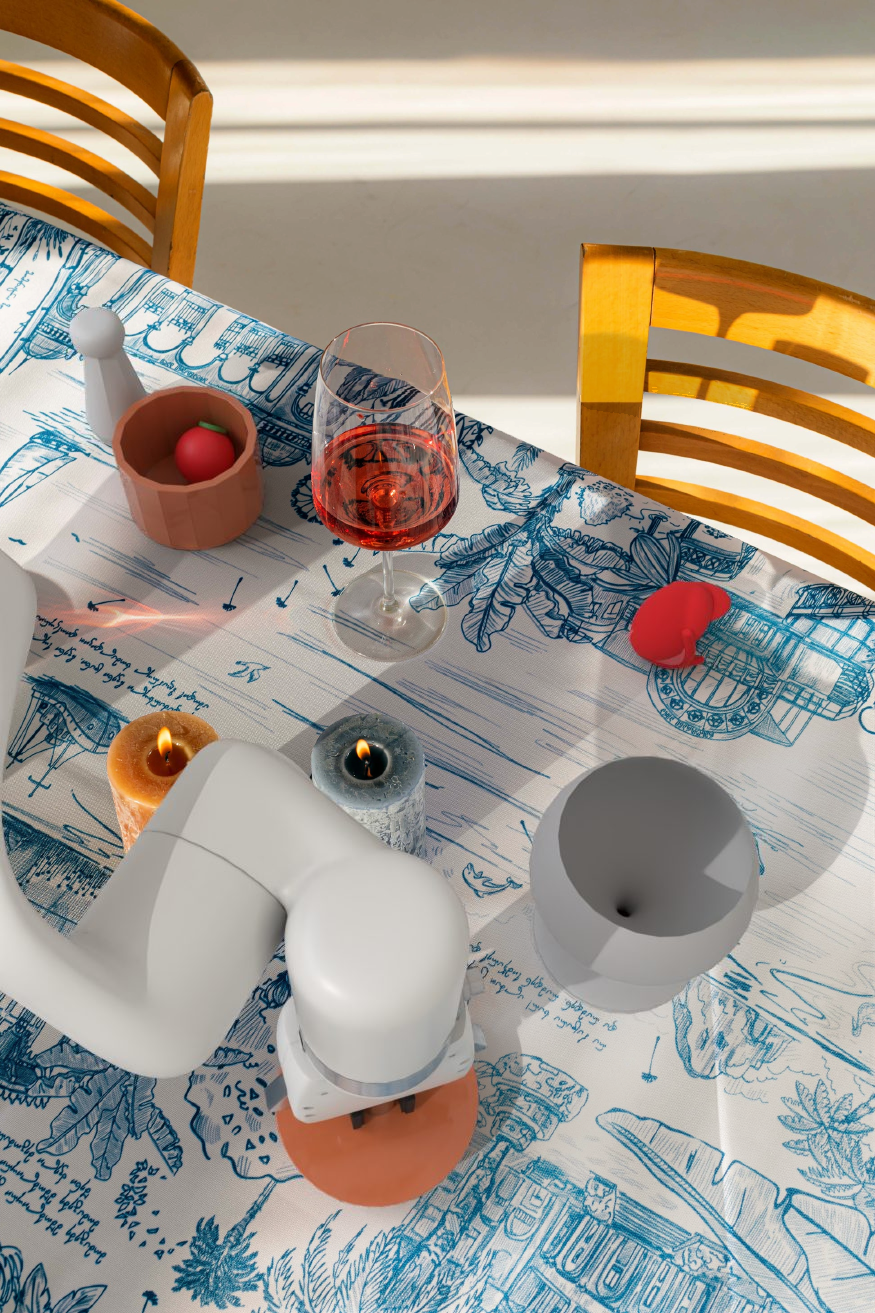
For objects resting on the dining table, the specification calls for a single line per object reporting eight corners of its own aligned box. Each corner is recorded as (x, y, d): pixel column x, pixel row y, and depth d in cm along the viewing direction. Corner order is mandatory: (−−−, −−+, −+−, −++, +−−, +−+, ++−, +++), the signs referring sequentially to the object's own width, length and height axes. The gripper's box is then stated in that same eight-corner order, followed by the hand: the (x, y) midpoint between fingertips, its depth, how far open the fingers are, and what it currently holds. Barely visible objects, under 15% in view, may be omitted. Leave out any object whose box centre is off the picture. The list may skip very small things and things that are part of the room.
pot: (117, 545, 99) (98, 486, 93) (143, 443, 105) (127, 381, 99) (254, 554, 99) (245, 496, 93) (272, 451, 105) (264, 389, 99)
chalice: (751, 906, 84) (814, 816, 71) (655, 1075, 78) (706, 1009, 65) (580, 802, 88) (611, 699, 75) (475, 955, 81) (490, 870, 69)
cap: (662, 696, 93) (677, 655, 88) (609, 645, 95) (621, 602, 90) (733, 643, 96) (751, 600, 91) (679, 595, 98) (695, 550, 93)
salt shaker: (136, 399, 108) (107, 284, 97) (171, 436, 106) (145, 323, 95) (80, 429, 106) (43, 315, 95) (114, 467, 104) (80, 355, 93)
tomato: (163, 476, 98) (181, 415, 98) (171, 474, 103) (188, 416, 103) (222, 495, 99) (240, 434, 98) (227, 492, 104) (244, 434, 103)
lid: (262, 1202, 70) (253, 1184, 65) (288, 992, 77) (282, 960, 71) (473, 1216, 70) (481, 1200, 65) (481, 1005, 77) (489, 974, 71)
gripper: (511, 895, 60) (484, 999, 76) (194, 982, 57) (233, 1072, 73) (562, 1040, 57) (521, 1119, 72) (225, 1141, 54) (259, 1200, 69)
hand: (376, 1095), depth 73 cm, fingers closed on lid, 2 cm apart
